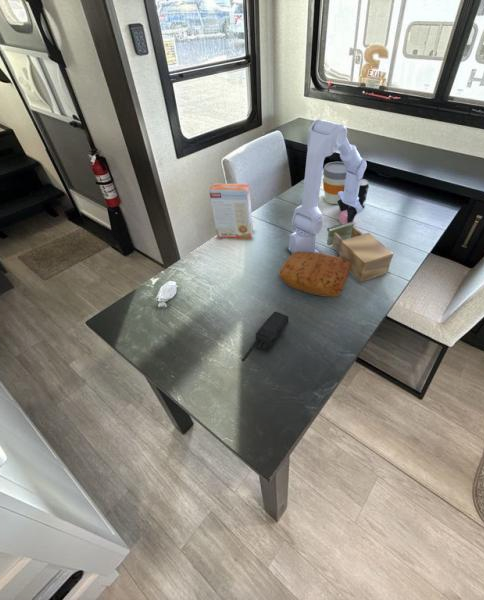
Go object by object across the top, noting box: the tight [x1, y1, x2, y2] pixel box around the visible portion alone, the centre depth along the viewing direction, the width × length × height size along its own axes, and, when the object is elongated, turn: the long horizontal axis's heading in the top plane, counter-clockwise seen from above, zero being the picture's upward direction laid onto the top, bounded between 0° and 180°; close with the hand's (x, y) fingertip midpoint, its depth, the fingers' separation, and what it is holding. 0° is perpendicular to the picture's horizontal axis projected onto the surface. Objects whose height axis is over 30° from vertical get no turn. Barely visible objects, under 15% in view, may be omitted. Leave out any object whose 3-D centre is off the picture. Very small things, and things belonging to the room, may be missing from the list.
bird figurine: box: [155, 280, 180, 308], centre depth 102 cm, size 5×7×10 cm
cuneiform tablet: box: [278, 252, 351, 298], centre depth 104 cm, size 22×17×8 cm
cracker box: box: [208, 182, 254, 240], centre depth 121 cm, size 14×6×21 cm, turn 84°
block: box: [338, 210, 355, 225], centre depth 131 cm, size 4×4×4 cm
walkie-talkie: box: [241, 311, 289, 363], centre depth 88 cm, size 6×6×20 cm
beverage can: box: [349, 178, 370, 210], centre depth 137 cm, size 7×7×12 cm
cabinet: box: [338, 232, 394, 283], centre depth 110 cm, size 14×12×9 cm
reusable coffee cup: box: [322, 161, 347, 205], centre depth 141 cm, size 13×12×15 cm
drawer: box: [326, 222, 363, 254], centre depth 117 cm, size 17×10×7 cm, turn 24°
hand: (346, 219), depth 132 cm, fingers closed on block, 4 cm apart
